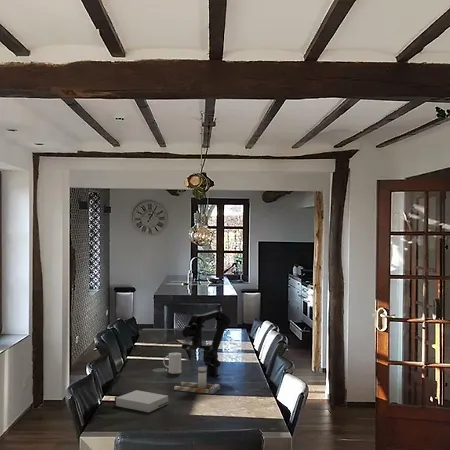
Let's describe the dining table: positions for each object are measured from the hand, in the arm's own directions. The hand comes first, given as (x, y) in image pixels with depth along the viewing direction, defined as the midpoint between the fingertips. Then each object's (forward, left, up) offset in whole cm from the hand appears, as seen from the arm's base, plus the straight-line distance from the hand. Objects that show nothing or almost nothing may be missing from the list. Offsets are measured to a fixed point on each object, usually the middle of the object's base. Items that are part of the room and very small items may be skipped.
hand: (197, 360), depth 365 cm
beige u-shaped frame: (+13, +17, -12) cm, 24 cm away
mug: (0, -26, -12) cm, 29 cm away
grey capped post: (+11, +19, -12) cm, 25 cm away
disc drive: (+53, +20, -13) cm, 59 cm away
